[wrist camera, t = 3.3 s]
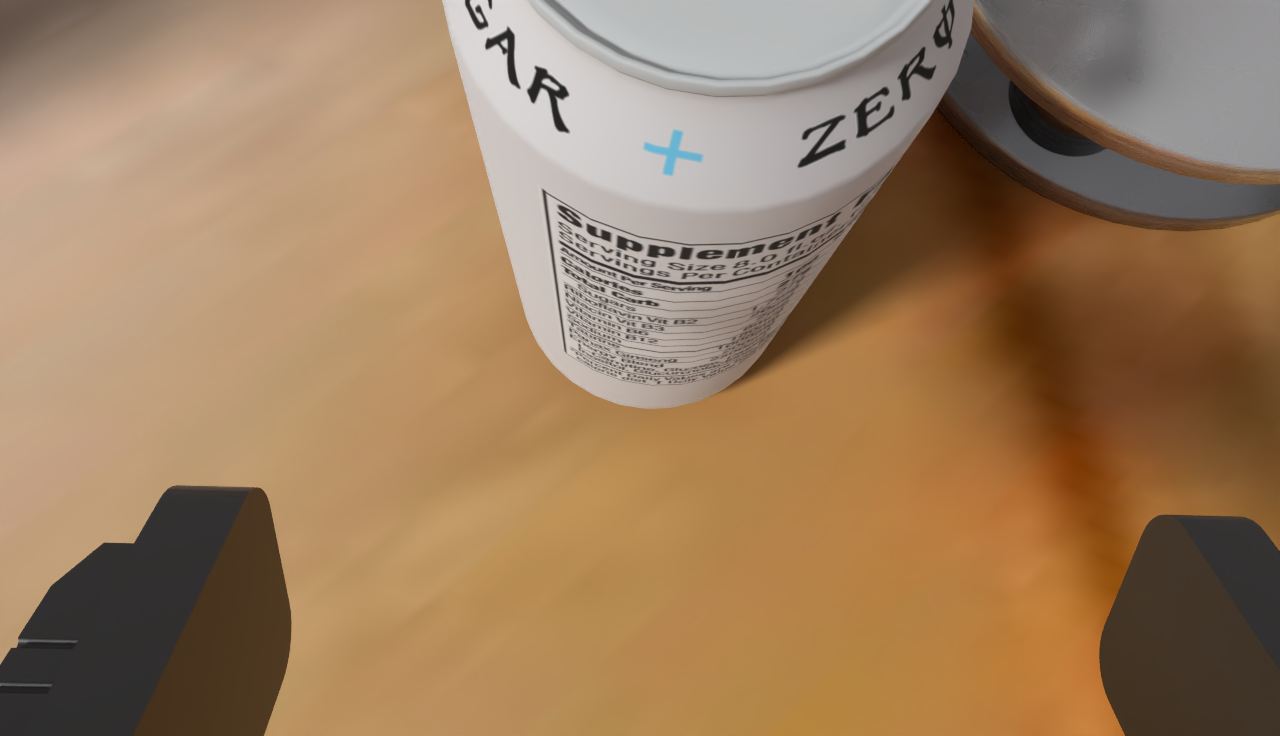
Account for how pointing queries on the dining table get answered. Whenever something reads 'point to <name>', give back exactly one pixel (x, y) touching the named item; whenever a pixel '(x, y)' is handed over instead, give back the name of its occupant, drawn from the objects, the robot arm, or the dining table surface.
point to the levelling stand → (1128, 106)
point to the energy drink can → (688, 165)
